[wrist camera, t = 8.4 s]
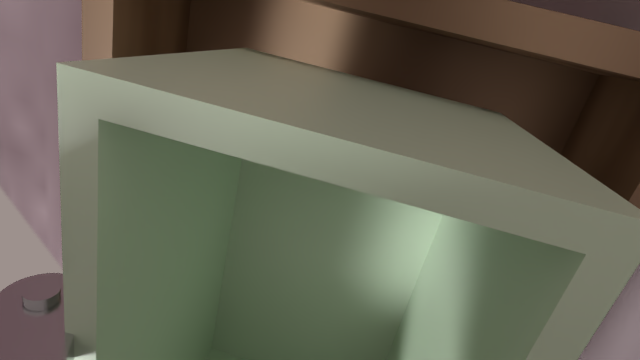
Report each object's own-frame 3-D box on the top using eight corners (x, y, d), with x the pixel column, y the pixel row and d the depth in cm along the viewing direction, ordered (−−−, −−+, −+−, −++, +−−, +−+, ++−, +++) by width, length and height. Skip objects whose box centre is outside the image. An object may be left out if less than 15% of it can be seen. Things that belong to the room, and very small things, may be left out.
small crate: (499, 112, 9) (663, 226, 4) (381, 400, 13) (376, 671, 7) (245, 47, 10) (56, 62, 4) (202, 343, 13) (71, 559, 8)
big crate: (626, 52, 11) (761, 59, 7) (453, 395, 17) (474, 512, 13) (184, -55, 12) (81, -101, 8) (154, 301, 18) (83, 381, 14)
